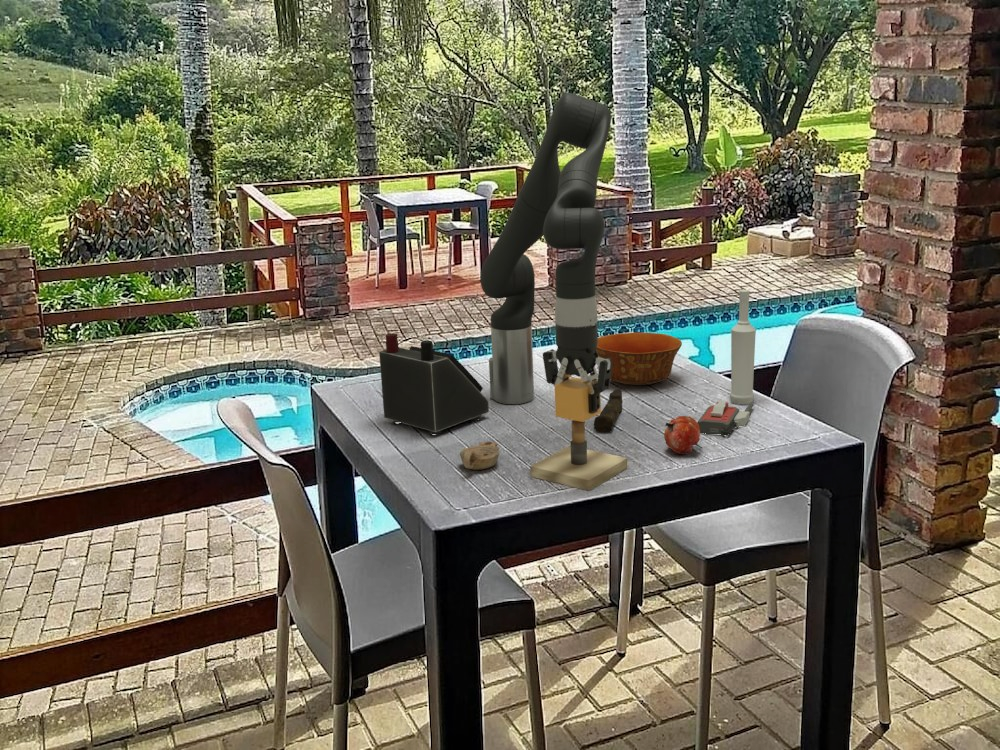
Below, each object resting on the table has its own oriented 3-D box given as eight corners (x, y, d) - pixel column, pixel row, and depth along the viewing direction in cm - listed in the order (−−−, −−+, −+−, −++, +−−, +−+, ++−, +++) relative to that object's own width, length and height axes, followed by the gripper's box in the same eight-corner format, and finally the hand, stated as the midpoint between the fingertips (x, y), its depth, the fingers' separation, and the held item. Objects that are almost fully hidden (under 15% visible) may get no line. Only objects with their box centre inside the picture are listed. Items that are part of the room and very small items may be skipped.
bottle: (749, 406, 229) (752, 293, 222) (726, 403, 232) (728, 292, 225) (757, 399, 233) (760, 289, 226) (734, 397, 236) (736, 287, 229)
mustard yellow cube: (555, 416, 193) (554, 385, 191) (573, 407, 197) (573, 377, 196) (582, 421, 189) (582, 390, 187) (600, 412, 194) (600, 381, 192)
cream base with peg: (530, 476, 195) (528, 425, 193) (570, 455, 205) (568, 406, 202) (589, 490, 188) (588, 437, 185) (627, 468, 197) (627, 417, 194)
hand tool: (612, 435, 216) (612, 413, 215) (593, 433, 217) (593, 412, 216) (631, 407, 233) (631, 387, 232) (614, 406, 235) (614, 386, 233)
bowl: (619, 365, 265) (619, 326, 262) (696, 376, 253) (697, 336, 250) (575, 386, 249) (574, 345, 246) (656, 399, 237) (656, 356, 234)
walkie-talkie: (737, 441, 210) (756, 410, 227) (738, 420, 209) (757, 391, 226) (694, 436, 213) (716, 407, 231) (694, 416, 212) (716, 388, 230)
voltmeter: (490, 418, 229) (486, 328, 224) (435, 438, 218) (429, 345, 212) (439, 404, 240) (433, 319, 234) (384, 423, 228) (377, 334, 223)
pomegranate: (686, 453, 210) (647, 428, 207) (709, 425, 208) (671, 400, 205) (696, 470, 203) (657, 445, 200) (720, 441, 201) (681, 416, 198)
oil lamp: (475, 453, 209) (474, 429, 207) (510, 456, 206) (509, 432, 204) (447, 476, 197) (446, 451, 196) (484, 481, 194) (482, 455, 193)
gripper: (531, 320, 190) (534, 409, 194) (598, 329, 181) (600, 421, 186) (555, 311, 195) (557, 398, 200) (621, 320, 187) (622, 410, 191)
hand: (578, 409), depth 193 cm, fingers closed on mustard yellow cube, 6 cm apart
